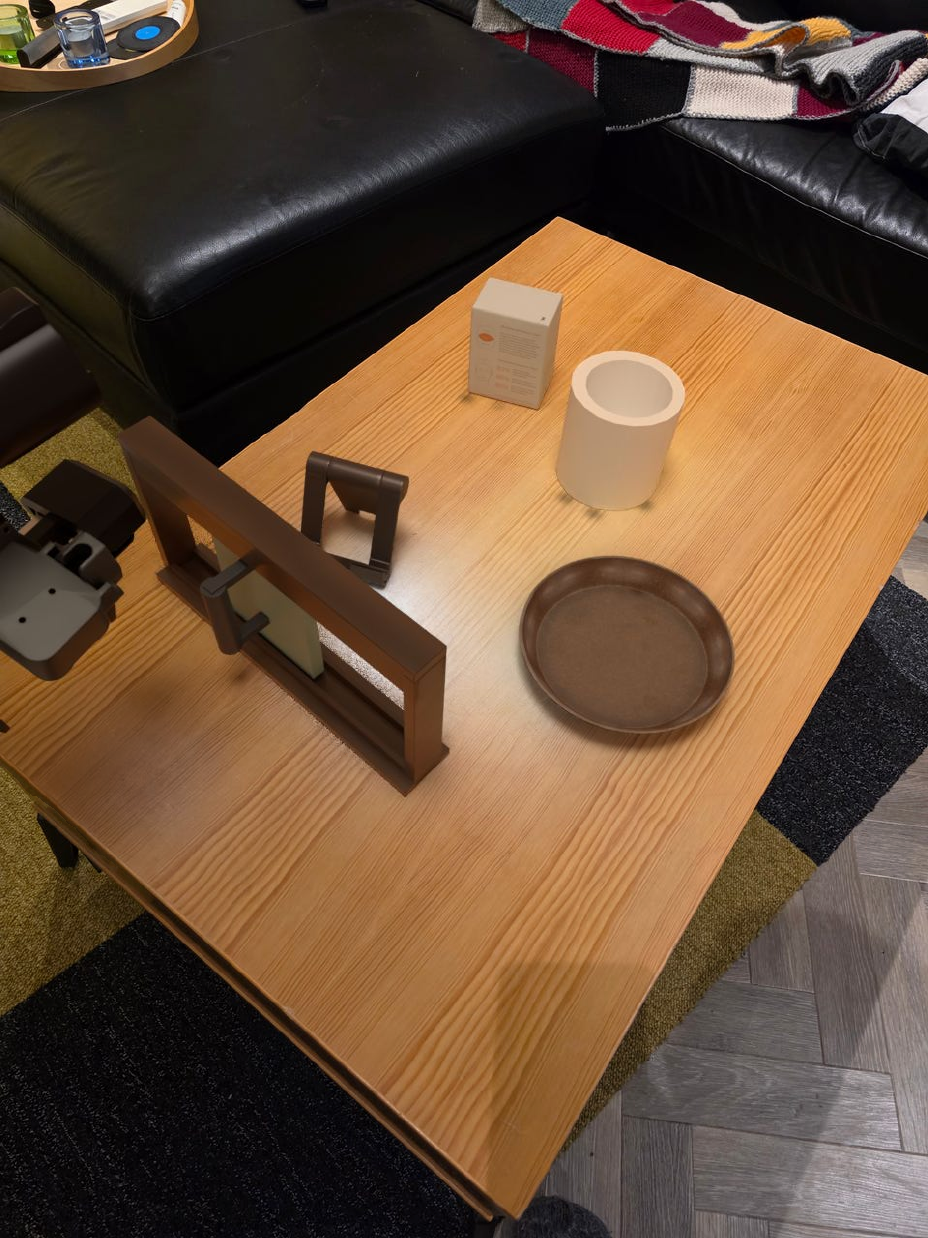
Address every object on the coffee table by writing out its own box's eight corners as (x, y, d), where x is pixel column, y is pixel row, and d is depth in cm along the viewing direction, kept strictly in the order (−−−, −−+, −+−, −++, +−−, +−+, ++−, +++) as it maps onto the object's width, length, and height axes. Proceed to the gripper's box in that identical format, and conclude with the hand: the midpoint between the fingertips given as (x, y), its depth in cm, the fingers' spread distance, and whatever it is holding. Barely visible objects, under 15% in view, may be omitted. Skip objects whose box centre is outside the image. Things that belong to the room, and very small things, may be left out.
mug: (578, 406, 92) (595, 319, 84) (673, 430, 91) (700, 345, 82) (543, 493, 85) (558, 408, 76) (646, 522, 83) (673, 438, 75)
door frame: (405, 797, 66) (402, 685, 53) (157, 579, 77) (104, 441, 63) (449, 753, 68) (458, 636, 55) (203, 547, 79) (160, 408, 66)
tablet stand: (290, 563, 78) (278, 499, 72) (325, 502, 83) (317, 436, 76) (383, 590, 77) (380, 527, 70) (413, 527, 82) (413, 462, 75)
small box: (552, 379, 95) (566, 293, 86) (538, 411, 92) (550, 326, 83) (482, 360, 96) (488, 274, 87) (465, 392, 93) (470, 306, 84)
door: (271, 715, 68) (247, 626, 58) (189, 641, 72) (154, 546, 62) (324, 670, 71) (310, 578, 61) (243, 601, 74) (217, 504, 64)
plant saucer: (616, 544, 81) (623, 522, 79) (767, 670, 74) (779, 650, 72) (472, 643, 74) (474, 622, 72) (624, 794, 67) (632, 776, 64)
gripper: (-143, 738, 36) (36, 859, 49) (165, 446, 44) (248, 616, 57) (-294, 625, 40) (-91, 766, 53) (15, 375, 48) (125, 550, 61)
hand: (58, 671), depth 56 cm, fingers open, 9 cm apart
